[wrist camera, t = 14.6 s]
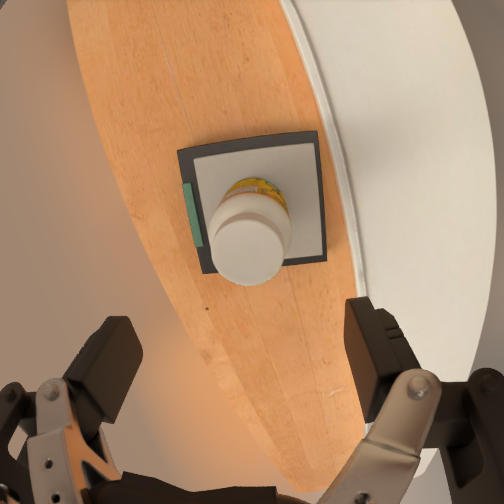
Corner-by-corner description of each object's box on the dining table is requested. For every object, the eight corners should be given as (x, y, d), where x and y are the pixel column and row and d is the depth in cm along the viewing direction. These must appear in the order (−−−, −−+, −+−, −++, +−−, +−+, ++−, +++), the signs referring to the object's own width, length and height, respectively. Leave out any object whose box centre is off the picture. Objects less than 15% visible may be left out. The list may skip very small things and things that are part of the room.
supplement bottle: (215, 186, 24) (183, 221, 15) (277, 168, 23) (283, 193, 14) (234, 243, 26) (217, 304, 17) (293, 228, 25) (306, 284, 16)
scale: (206, 265, 30) (201, 277, 27) (183, 148, 25) (174, 150, 23) (323, 252, 28) (328, 264, 26) (313, 130, 24) (318, 130, 21)
